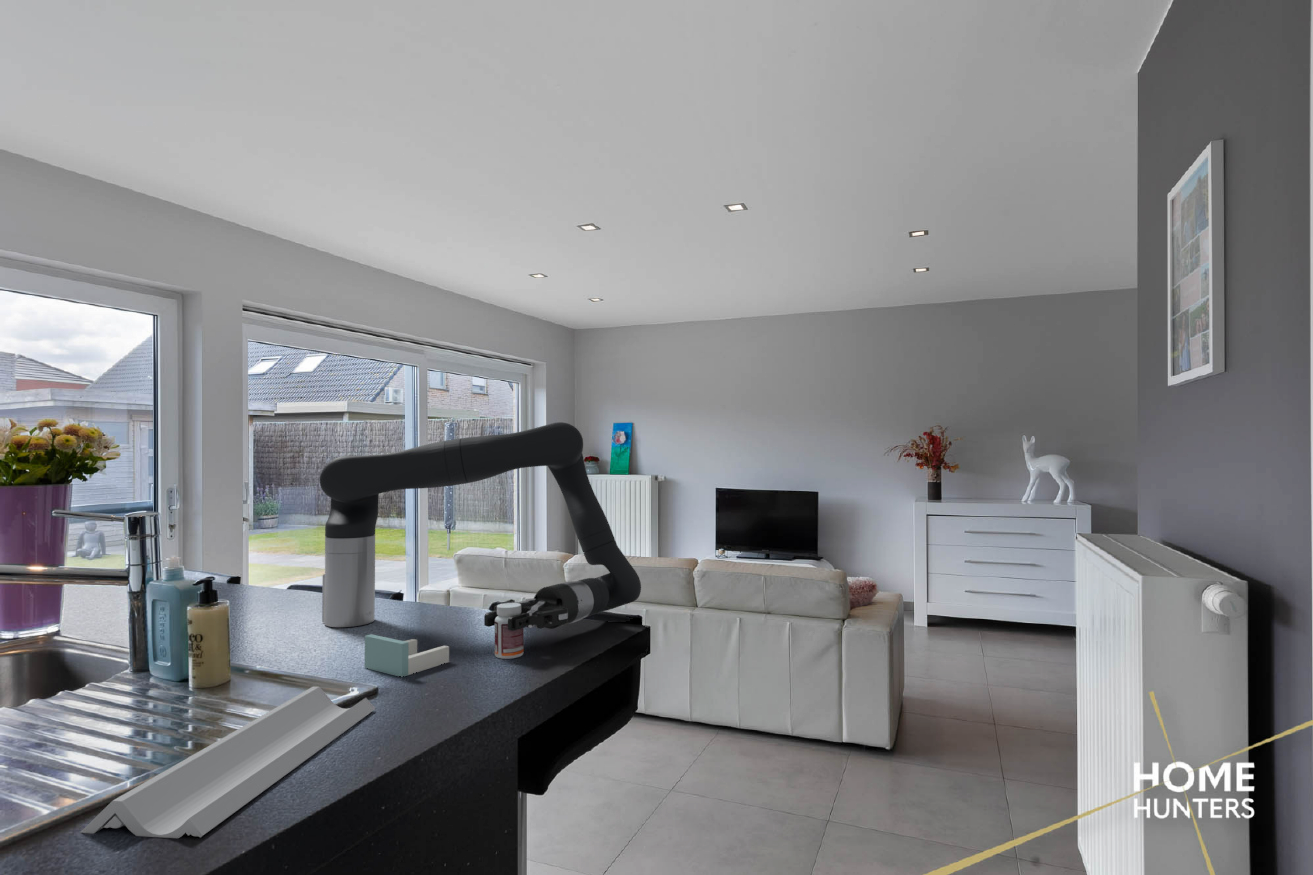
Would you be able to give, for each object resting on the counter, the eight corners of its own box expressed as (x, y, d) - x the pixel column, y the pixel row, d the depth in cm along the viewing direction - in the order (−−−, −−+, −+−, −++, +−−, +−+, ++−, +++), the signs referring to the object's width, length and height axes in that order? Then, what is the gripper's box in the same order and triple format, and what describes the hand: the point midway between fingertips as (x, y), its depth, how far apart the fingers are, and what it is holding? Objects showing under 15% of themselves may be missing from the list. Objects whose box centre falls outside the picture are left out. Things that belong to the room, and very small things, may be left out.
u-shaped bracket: (364, 667, 113) (364, 635, 113) (412, 653, 121) (412, 623, 121) (401, 677, 108) (401, 643, 108) (449, 661, 116) (449, 630, 116)
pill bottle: (529, 653, 121) (529, 603, 121) (511, 660, 117) (511, 609, 117) (506, 649, 123) (506, 600, 123) (488, 657, 119) (488, 606, 119)
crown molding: (200, 847, 63) (200, 805, 63) (76, 840, 64) (76, 800, 64) (374, 715, 94) (374, 687, 94) (288, 712, 95) (288, 685, 95)
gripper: (534, 579, 136) (466, 594, 121) (595, 587, 128) (530, 604, 114) (534, 619, 136) (466, 639, 121) (595, 629, 128) (530, 651, 114)
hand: (498, 622), depth 118 cm, fingers closed on pill bottle, 4 cm apart
